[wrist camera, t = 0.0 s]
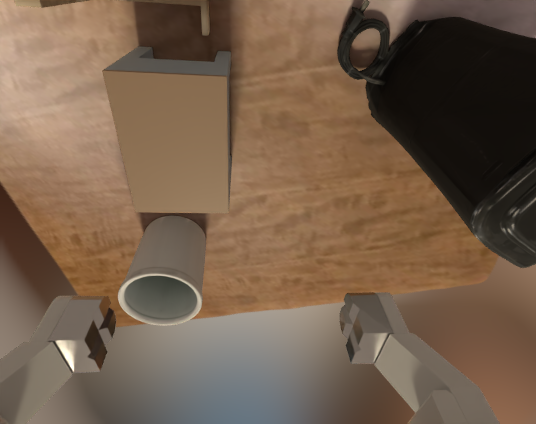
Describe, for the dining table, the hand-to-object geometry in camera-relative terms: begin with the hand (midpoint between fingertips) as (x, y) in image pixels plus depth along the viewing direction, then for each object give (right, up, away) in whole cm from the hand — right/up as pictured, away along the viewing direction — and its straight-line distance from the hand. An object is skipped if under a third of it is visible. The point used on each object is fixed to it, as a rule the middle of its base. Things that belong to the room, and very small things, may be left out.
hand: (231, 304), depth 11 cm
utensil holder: (-19, -3, +61) cm, 64 cm away
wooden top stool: (-12, +20, +44) cm, 50 cm away
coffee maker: (+30, +27, +42) cm, 59 cm away
